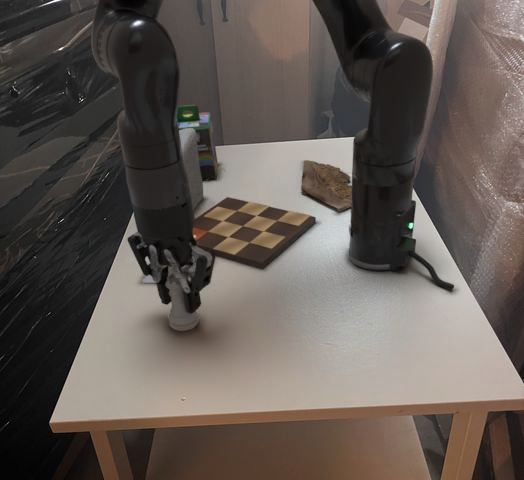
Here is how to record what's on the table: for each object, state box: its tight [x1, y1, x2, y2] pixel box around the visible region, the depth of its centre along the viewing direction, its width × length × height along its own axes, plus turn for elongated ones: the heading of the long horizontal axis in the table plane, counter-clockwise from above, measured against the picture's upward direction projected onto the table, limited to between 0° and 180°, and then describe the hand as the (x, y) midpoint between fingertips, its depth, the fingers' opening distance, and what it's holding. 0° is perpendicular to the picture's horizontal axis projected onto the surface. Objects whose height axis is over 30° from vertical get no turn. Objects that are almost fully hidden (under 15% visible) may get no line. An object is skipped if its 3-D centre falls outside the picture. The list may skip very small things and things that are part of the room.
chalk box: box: [177, 104, 219, 181], centre depth 125 cm, size 9×9×15 cm
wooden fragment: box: [300, 159, 352, 214], centre depth 120 cm, size 26×11×1 cm, turn 9°
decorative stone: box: [179, 128, 204, 212], centre depth 111 cm, size 11×6×15 cm, turn 168°
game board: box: [193, 196, 317, 270], centre depth 106 cm, size 20×18×1 cm
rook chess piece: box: [165, 273, 200, 332], centre depth 84 cm, size 4×4×8 cm
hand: (181, 305), depth 84 cm, fingers open, 4 cm apart
